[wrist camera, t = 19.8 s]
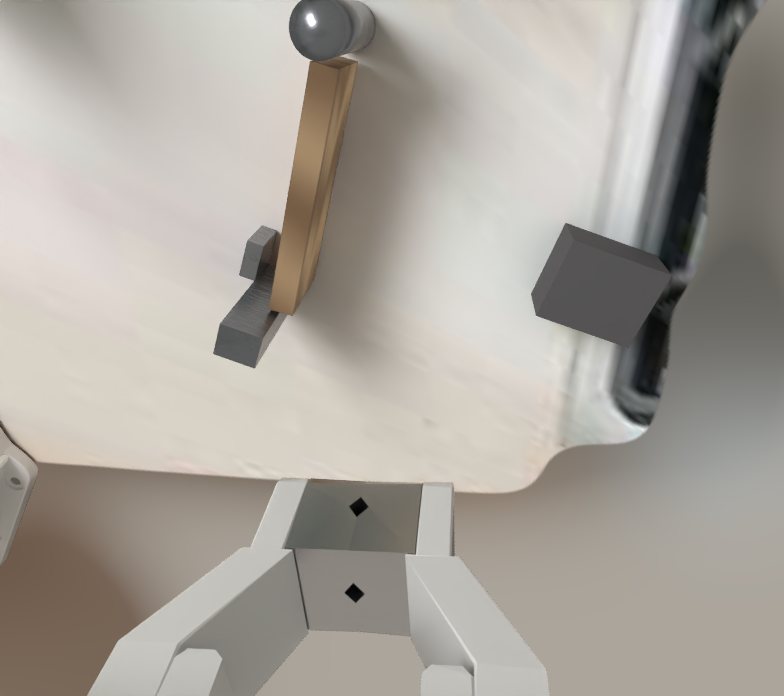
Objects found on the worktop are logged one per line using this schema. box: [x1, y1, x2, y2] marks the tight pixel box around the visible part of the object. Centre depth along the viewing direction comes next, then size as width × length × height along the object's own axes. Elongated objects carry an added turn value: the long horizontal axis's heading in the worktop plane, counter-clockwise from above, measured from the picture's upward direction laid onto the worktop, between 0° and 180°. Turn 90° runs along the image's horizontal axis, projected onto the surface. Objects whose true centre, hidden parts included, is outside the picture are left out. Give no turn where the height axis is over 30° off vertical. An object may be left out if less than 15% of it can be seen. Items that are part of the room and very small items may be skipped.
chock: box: [531, 223, 672, 348], centre depth 37 cm, size 5×6×4 cm
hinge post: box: [289, 0, 375, 61], centre depth 29 cm, size 2×2×9 cm
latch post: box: [213, 226, 287, 368], centre depth 36 cm, size 4×3×9 cm
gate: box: [269, 56, 358, 316], centre depth 34 cm, size 13×1×6 cm, turn 166°
